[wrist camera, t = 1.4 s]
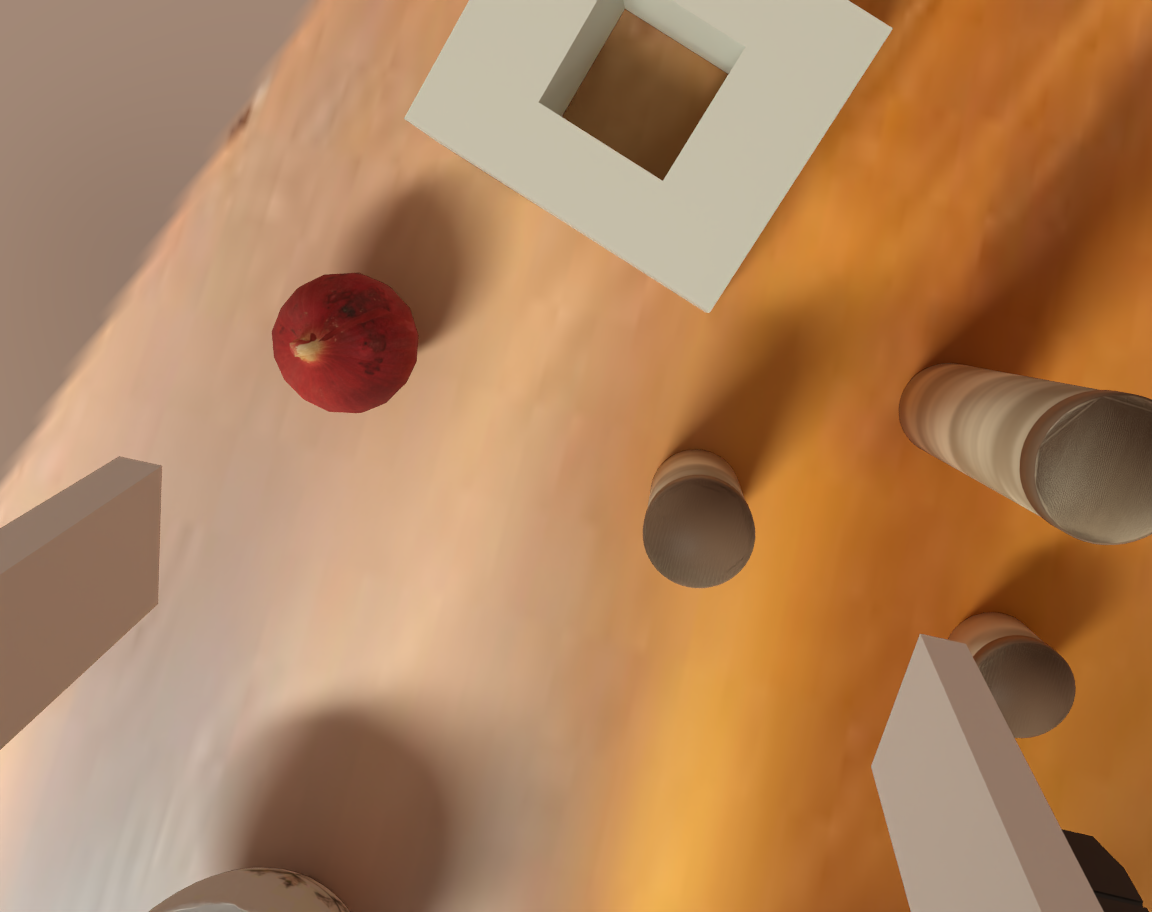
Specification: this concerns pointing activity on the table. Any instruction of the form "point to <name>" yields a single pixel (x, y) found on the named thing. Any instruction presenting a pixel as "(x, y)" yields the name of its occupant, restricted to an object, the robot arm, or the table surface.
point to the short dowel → (1019, 672)
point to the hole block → (709, 158)
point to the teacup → (254, 894)
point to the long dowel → (1041, 445)
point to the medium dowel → (697, 521)
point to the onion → (345, 342)
